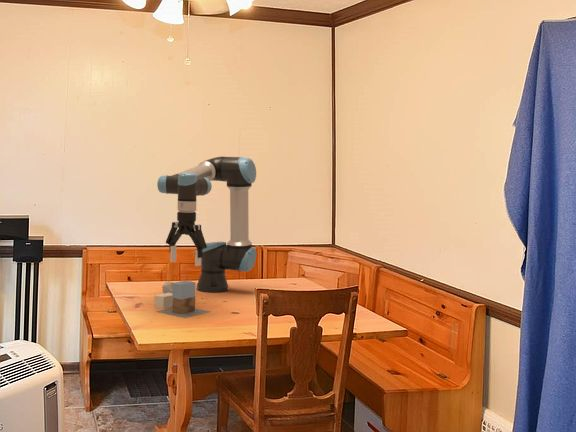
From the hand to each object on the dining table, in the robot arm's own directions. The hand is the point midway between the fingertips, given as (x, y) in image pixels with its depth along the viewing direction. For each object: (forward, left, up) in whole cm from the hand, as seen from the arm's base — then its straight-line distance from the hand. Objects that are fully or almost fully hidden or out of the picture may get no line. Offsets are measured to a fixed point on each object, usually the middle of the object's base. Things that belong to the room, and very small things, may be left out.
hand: (185, 263), depth 282 cm
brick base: (0, 0, -20) cm, 20 cm away
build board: (0, 0, -21) cm, 21 cm away
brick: (-2, -12, -21) cm, 24 cm away
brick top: (0, 0, -14) cm, 14 cm away
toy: (-12, -19, -21) cm, 31 cm away
